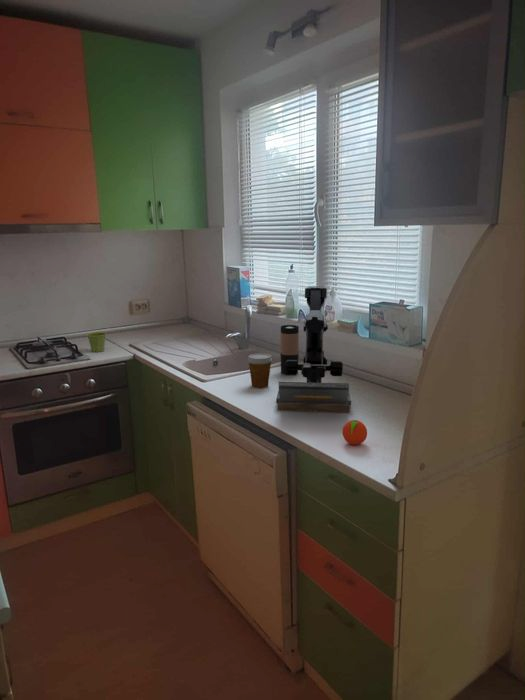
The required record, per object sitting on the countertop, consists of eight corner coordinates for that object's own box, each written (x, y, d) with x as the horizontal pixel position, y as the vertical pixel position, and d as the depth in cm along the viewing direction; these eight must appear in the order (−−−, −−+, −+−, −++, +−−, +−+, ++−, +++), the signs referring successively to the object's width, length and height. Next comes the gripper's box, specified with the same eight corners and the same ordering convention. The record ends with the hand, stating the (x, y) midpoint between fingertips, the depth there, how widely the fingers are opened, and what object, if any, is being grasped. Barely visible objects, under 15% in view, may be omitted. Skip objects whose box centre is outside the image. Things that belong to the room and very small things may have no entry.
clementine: (363, 452, 141) (364, 427, 140) (338, 448, 144) (339, 424, 142) (368, 441, 149) (369, 417, 147) (345, 437, 151) (345, 414, 150)
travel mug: (277, 371, 221) (277, 325, 216) (292, 369, 224) (292, 324, 220) (286, 376, 214) (286, 328, 210) (301, 373, 218) (302, 327, 213)
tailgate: (280, 399, 174) (278, 381, 164) (346, 401, 172) (348, 383, 162) (280, 403, 173) (278, 386, 163) (346, 405, 171) (348, 387, 161)
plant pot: (92, 354, 255) (90, 336, 253) (85, 350, 262) (83, 333, 260) (110, 351, 261) (109, 334, 259) (103, 348, 268) (101, 331, 266)
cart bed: (279, 397, 188) (279, 386, 187) (348, 399, 185) (348, 388, 184) (276, 410, 174) (276, 398, 173) (350, 412, 172) (351, 401, 171)
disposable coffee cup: (244, 383, 204) (244, 354, 202) (267, 381, 207) (267, 352, 205) (252, 390, 196) (251, 360, 193) (275, 388, 199) (275, 357, 196)
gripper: (340, 362, 181) (341, 402, 172) (287, 361, 183) (285, 401, 174) (342, 345, 171) (343, 386, 163) (286, 344, 173) (284, 385, 165)
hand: (313, 390), depth 167 cm, fingers closed, pressing on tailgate
